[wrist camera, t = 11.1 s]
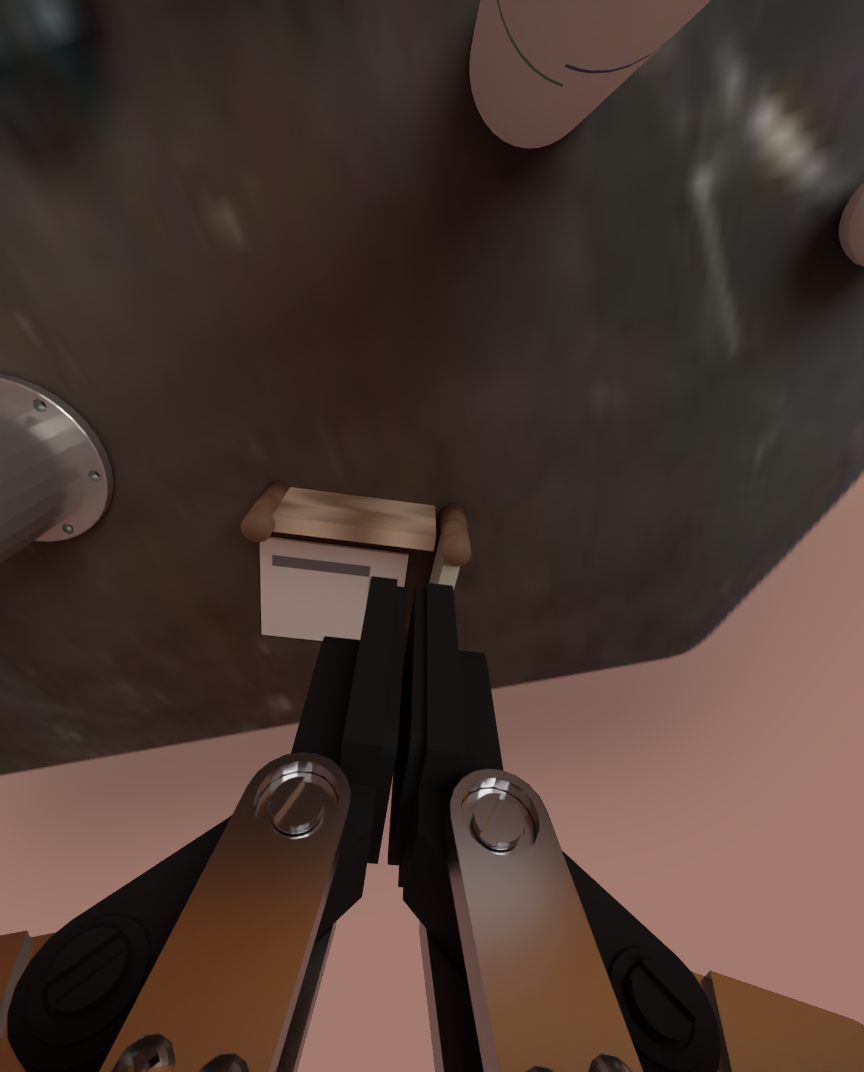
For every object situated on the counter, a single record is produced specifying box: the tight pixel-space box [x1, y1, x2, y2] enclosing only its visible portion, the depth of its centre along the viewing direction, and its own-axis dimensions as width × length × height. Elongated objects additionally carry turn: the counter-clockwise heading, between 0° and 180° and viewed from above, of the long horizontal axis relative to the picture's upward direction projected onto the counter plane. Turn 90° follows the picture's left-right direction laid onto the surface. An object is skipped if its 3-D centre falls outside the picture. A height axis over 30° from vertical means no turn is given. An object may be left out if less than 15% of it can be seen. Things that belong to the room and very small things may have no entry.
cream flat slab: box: [429, 536, 460, 590], centre depth 40 cm, size 12×2×5 cm, turn 168°
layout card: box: [260, 537, 409, 641], centre depth 43 cm, size 12×10×1 cm
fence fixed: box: [241, 481, 471, 566], centre depth 36 cm, size 16×2×6 cm, turn 82°
